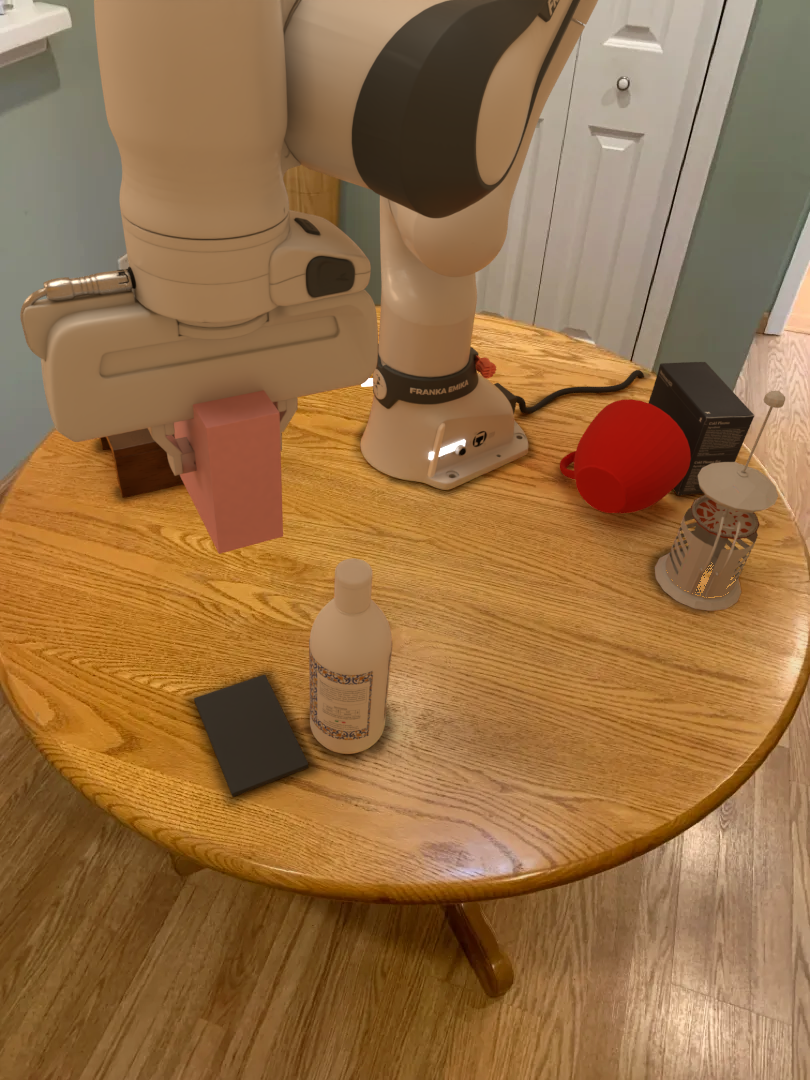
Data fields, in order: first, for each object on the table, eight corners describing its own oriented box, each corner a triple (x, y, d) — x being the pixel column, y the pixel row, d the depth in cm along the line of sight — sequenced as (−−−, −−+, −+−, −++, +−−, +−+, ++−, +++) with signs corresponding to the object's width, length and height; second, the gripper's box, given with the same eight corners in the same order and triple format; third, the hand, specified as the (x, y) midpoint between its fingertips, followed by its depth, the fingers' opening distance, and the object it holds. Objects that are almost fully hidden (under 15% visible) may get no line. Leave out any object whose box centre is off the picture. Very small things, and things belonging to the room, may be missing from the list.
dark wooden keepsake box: (207, 420, 113) (202, 374, 108) (236, 471, 105) (233, 424, 101) (100, 442, 108) (90, 396, 103) (122, 498, 100) (113, 450, 95)
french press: (743, 564, 99) (830, 379, 82) (738, 632, 91) (834, 442, 74) (659, 541, 101) (727, 356, 84) (647, 606, 93) (720, 415, 76)
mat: (265, 677, 82) (265, 673, 81) (308, 767, 75) (308, 764, 74) (194, 701, 79) (193, 697, 79) (232, 797, 72) (232, 793, 72)
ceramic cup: (553, 533, 110) (593, 489, 115) (666, 535, 97) (706, 485, 101) (512, 450, 105) (556, 407, 110) (625, 440, 92) (669, 392, 96)
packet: (239, 461, 63) (230, 341, 56) (283, 536, 57) (279, 412, 50) (179, 475, 61) (163, 353, 54) (218, 554, 55) (206, 428, 49)
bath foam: (345, 682, 82) (351, 528, 69) (399, 722, 79) (416, 569, 66) (294, 726, 78) (289, 570, 65) (349, 770, 75) (356, 617, 61)
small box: (725, 493, 109) (757, 415, 101) (677, 497, 108) (706, 419, 100) (679, 434, 119) (706, 359, 111) (634, 437, 117) (658, 361, 109)
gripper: (22, 312, 41) (75, 526, 50) (396, 258, 49) (382, 452, 58) (2, 259, 45) (54, 466, 54) (351, 217, 53) (345, 404, 62)
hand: (226, 458), depth 56 cm, fingers closed on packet, 4 cm apart
